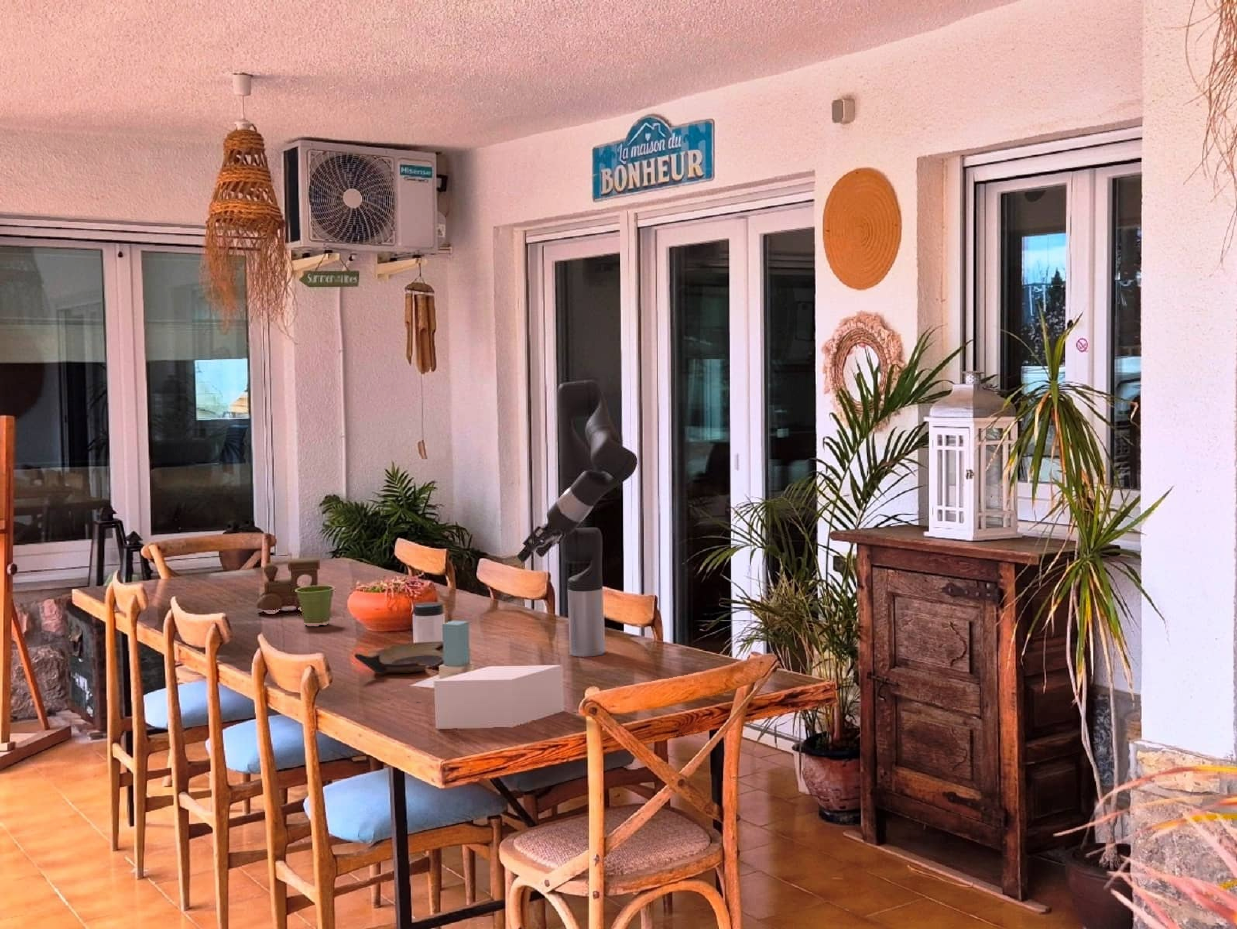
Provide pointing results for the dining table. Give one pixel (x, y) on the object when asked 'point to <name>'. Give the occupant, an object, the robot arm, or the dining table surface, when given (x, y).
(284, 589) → the wooden toy train
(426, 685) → the build board
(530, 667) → the wide white block
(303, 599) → the plant pot
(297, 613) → the dining table surface
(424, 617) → the jar
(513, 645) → the dining table surface
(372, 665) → the oil lamp
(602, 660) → the dining table surface
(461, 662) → the tall block
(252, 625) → the dining table surface
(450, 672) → the lower block
